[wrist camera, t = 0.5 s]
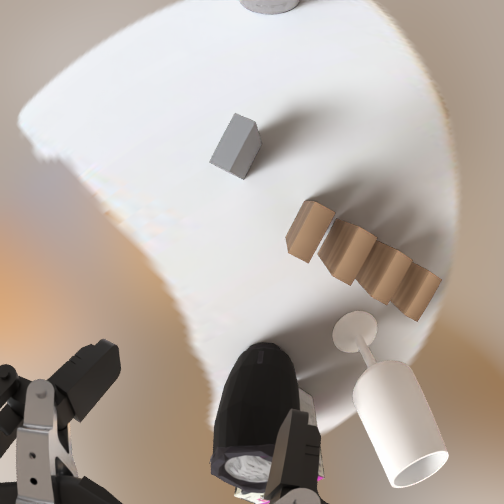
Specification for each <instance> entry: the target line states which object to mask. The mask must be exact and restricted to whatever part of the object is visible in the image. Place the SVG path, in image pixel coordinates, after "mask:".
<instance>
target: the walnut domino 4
mask: <svg viewBox="0 0 504 504" xmlns="http://www.w3.org/2000/svg"><path fill="white" fill-rule="evenodd" d="M441 281H442V279H440V278H439V277H437V276H436V275H434V274H433V273H432V272H430V271H428V270H426V269H425V268H423V267H421V266H419V265H417V264H415V263H413V262H412V263H411V264H410V266H409V268H408V270H407V272H406V274H405V275H404V277H403V279H402V281H401V282H400V284H399V286H398V288H397V289H396V291H395V293H394V294H393V296H392V298H391V299H390V301H391V302H392V303H393V304H394V305H395V306H396V307H397V308H398V309H399V310H400V311H401V312H402V313H403V314H404V315H406V316H408V317H409V318H411V319H413V320H415V321H417V322H418V320H419V318H420V317H421V315H422V314H423V312H424V310H425V309H426V307H427V305H428V304H429V302H430V300H431V299H432V297H433V295H434V293H435V292H436V290H437V288H438V286H439V284H440V282H441Z"/></svg>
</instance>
